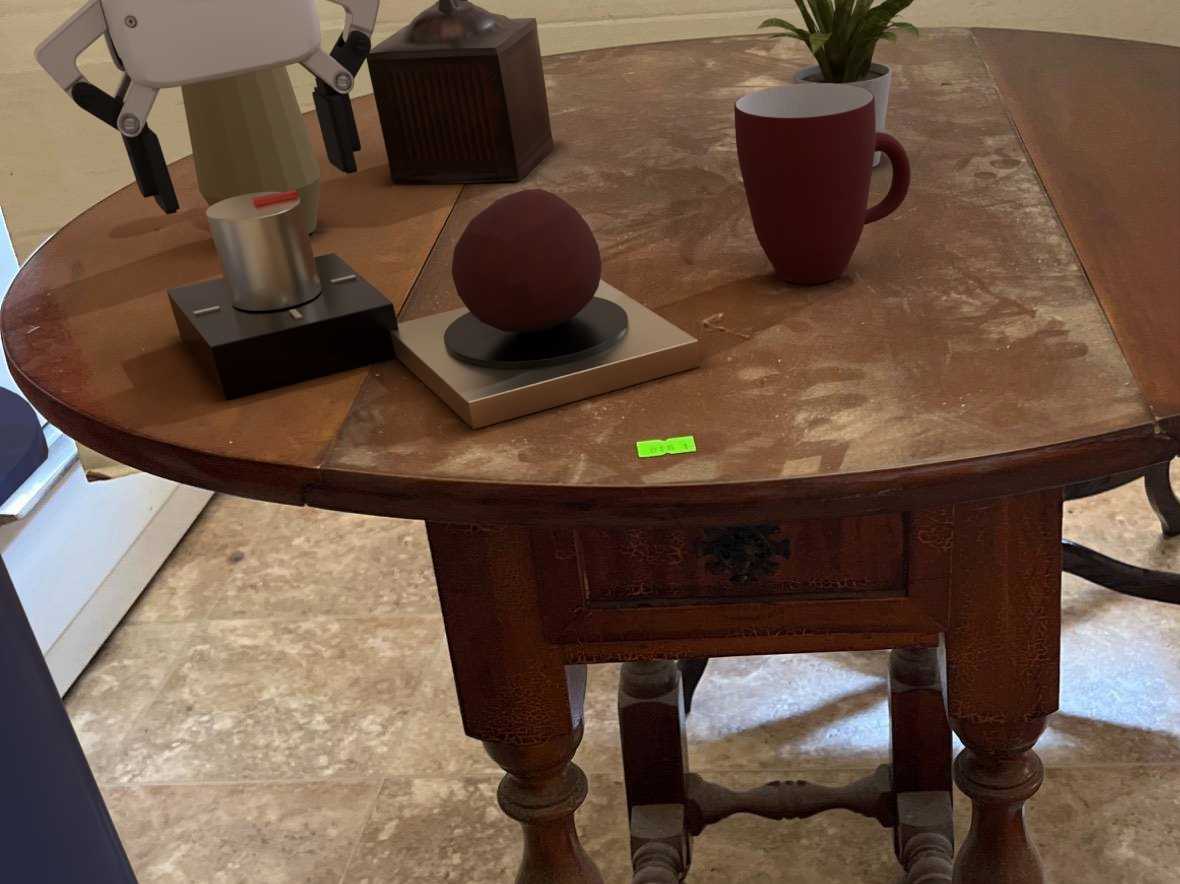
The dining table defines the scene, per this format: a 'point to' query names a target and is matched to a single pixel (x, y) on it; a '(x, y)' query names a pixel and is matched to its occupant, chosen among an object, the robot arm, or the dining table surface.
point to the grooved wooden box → (461, 96)
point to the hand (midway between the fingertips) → (257, 187)
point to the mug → (813, 174)
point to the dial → (264, 250)
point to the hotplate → (541, 357)
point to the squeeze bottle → (251, 139)
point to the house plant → (848, 46)
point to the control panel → (285, 331)
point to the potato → (526, 263)
